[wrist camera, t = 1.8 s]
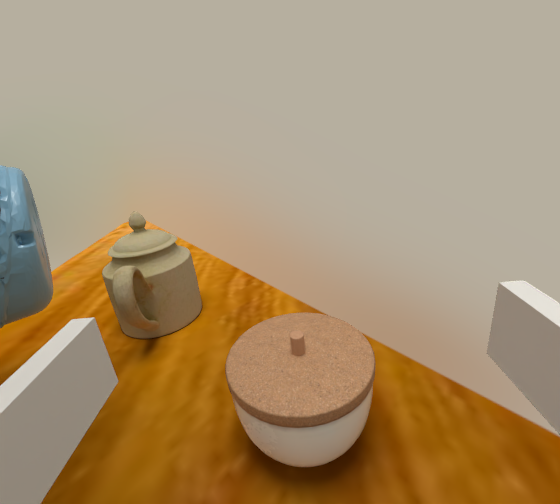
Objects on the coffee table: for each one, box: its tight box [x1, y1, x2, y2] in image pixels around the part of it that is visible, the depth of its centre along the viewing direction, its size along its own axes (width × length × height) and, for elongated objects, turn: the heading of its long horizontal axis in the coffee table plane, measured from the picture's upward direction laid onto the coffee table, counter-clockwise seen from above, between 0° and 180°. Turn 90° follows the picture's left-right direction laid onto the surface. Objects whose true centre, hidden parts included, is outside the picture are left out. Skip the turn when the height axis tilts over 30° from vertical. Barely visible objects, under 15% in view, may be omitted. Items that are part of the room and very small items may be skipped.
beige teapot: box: [102, 212, 202, 339], centre depth 40 cm, size 15×11×15 cm
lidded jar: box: [226, 313, 375, 467], centre depth 24 cm, size 11×11×9 cm
